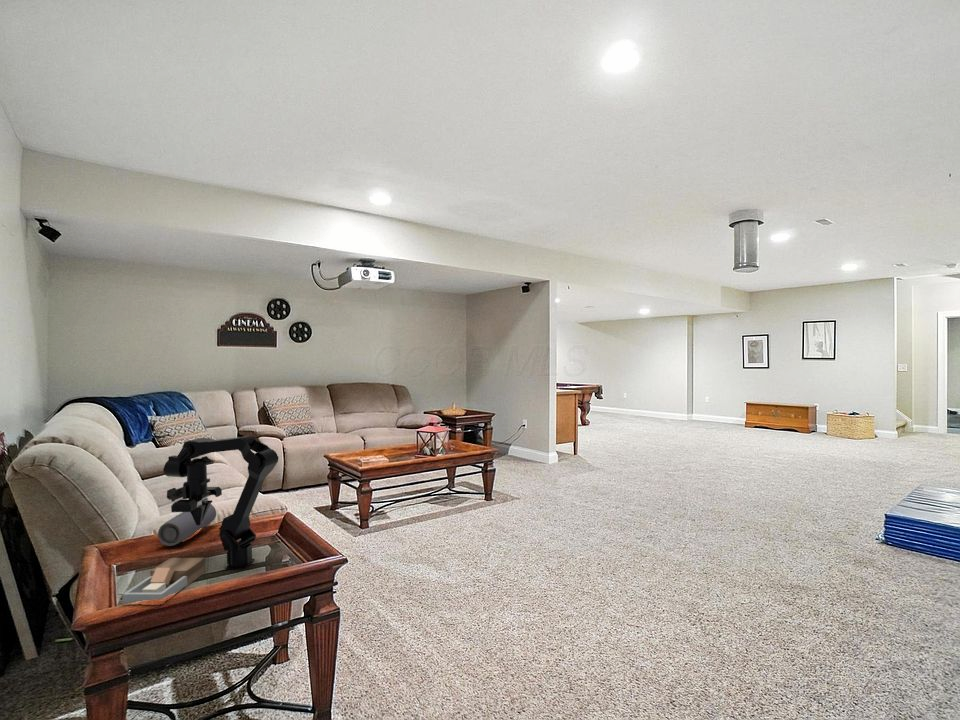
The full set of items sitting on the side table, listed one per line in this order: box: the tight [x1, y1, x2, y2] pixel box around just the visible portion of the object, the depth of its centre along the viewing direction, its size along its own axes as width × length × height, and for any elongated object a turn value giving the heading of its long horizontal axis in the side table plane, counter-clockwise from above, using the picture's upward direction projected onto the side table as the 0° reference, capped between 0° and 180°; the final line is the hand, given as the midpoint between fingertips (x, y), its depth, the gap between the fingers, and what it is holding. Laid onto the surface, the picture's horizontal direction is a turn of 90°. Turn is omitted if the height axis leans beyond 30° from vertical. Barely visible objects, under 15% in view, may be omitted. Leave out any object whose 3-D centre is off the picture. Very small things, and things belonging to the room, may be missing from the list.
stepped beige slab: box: [149, 557, 206, 587], centre depth 151 cm, size 11×9×4 cm
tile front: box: [142, 583, 166, 593], centre depth 140 cm, size 4×4×2 cm
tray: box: [121, 575, 188, 605], centre depth 141 cm, size 11×11×3 cm
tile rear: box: [150, 567, 174, 585], centre depth 144 cm, size 4×4×2 cm
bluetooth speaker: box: [157, 503, 217, 547], centre depth 185 cm, size 23×9×10 cm, turn 179°
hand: (198, 525), depth 163 cm, fingers closed
